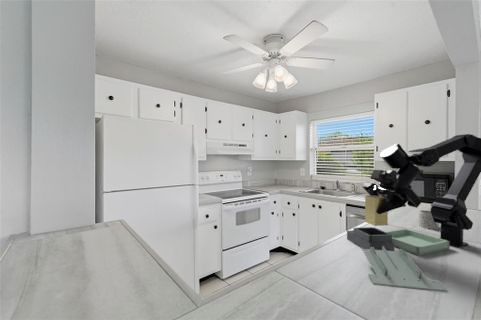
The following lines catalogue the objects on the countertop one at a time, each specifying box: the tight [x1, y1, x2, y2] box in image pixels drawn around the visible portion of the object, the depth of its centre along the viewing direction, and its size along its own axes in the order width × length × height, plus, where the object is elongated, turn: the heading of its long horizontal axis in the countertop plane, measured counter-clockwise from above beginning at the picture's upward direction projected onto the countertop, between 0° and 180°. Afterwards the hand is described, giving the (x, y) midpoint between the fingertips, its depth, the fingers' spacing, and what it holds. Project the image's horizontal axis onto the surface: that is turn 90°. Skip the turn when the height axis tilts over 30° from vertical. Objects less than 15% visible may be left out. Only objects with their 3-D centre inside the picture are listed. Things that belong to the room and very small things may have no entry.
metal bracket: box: [362, 246, 448, 294], centre depth 54 cm, size 14×6×15 cm
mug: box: [418, 209, 440, 230], centre depth 94 cm, size 10×7×7 cm, turn 147°
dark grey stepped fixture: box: [346, 226, 395, 251], centre depth 72 cm, size 8×12×5 cm
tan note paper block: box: [364, 195, 389, 227], centre depth 71 cm, size 4×4×9 cm
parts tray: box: [384, 228, 451, 257], centre depth 73 cm, size 16×14×2 cm
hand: (372, 211), depth 71 cm, fingers closed on tan note paper block, 4 cm apart
